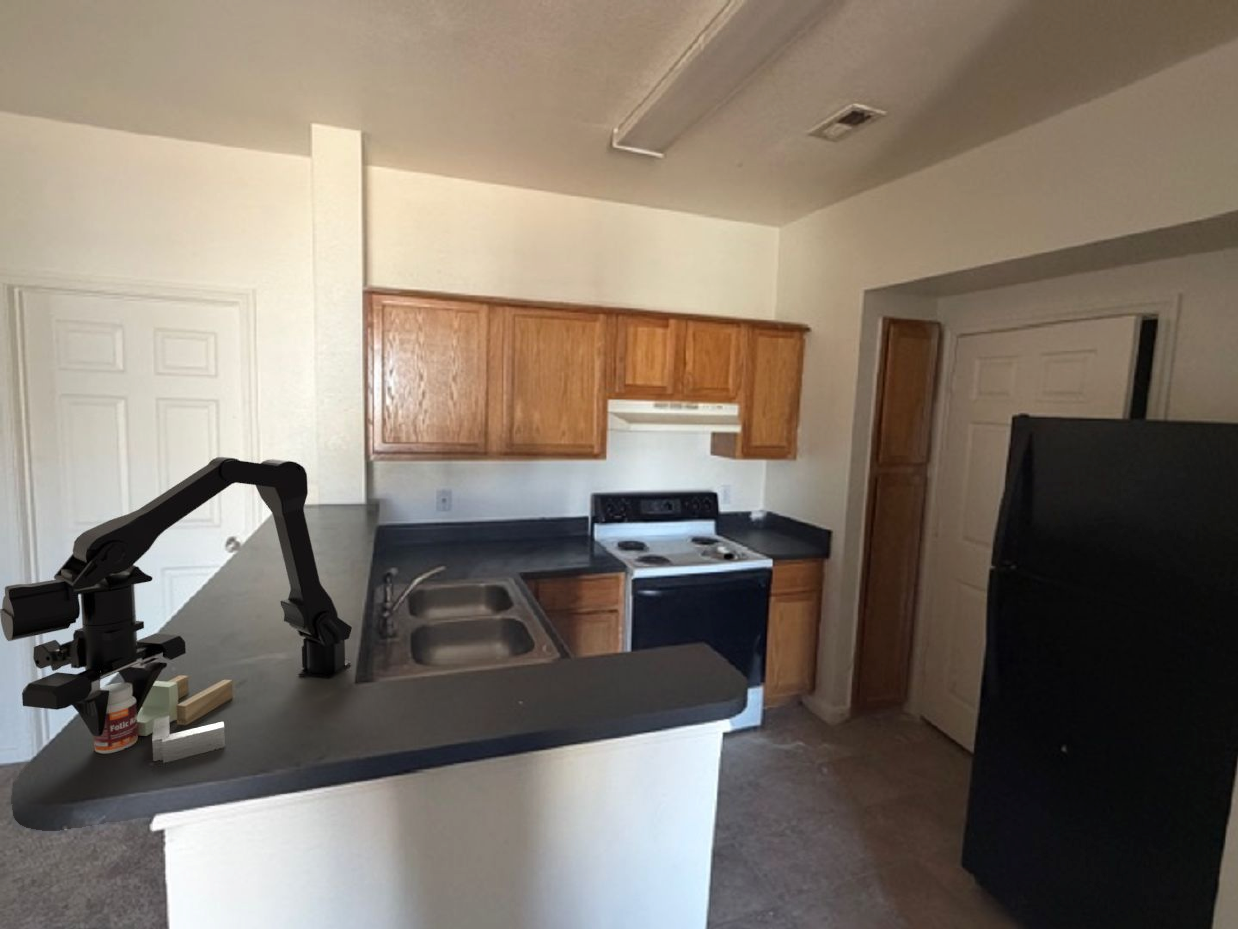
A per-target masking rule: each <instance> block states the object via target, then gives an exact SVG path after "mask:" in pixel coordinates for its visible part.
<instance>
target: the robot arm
mask: <svg viewBox="0 0 1238 929" xmlns="http://www.w3.org/2000/svg"><path fill="white" fill-rule="evenodd" d="M235 483H236V484H245V485H253V486H255V487H256V490H257V492H258V494H259V496H260V498H261V500H262V501H263V502H264V504H265V505H266V507H267V508H268V509H269V510H270V512H271V513H272V517H273V519H274V524H275V528H276V532H277V537H278V541H279V545H280V549H281V554H282V558H283V561H284V566H285V570H286V575H287V578H288V582H289V586H290V591H289V595H288V598H286V599H283V600H280V601H279V603H280V606H281V609H282V610H283V615H284V616H283V622H284V623H287V624H289V626H290V628H293V629H294V630H296V631H297V633H298V635H299V636H300V637H303V639H302V642H303V644H302V646H301V666H302V669H301V670H300V671H298V672H297V673H298V674H297V675H298V676H302V677H314V678H323V679H326V678H327V679H330V678H331V679H332V678H333V677H335V675H337V674H338V673H340V672H341V671H343V670H344V669H346V668H347V667H349V666H350V665H351V661H350V660H346V641H347V640H349V639H350V636H351V633H352V626H351V625H349V623H348V624H347V622H345V621H343V620H342V619H341V618H339V614H338V610H337V608H336V605H335V603H334V601H333V599H332V598H331V596H330V595H329V593H328V592H327V591H326V590H325V588H324V586H323V585H322V583H321V581H320V576H319V572H318V571H319V570H318V566H317V563H316V559H315V554H314V550H313V549H314V548H313V546H312V541H311V537H310V532H309V528H308V523H307V520H306V519H307V518H306V515H305V504H306V501H307V496H308V494H309V492H308V491H309V490H308V487H309V486H308V476H307V471H306V468H305V467H304V466H303V465H301V464H300V463H298V462H296V461H291V460H282V459H273V458H272V459H271V458H270V459H265V460H263V461H262V462H253V461H251V462H250V461H246V460H239V459H238V458H234V457H225V456H218V457H215V458H212V460H210V461H209V462H208V464H206V465H205V466H203V467H202V468H200V469H198V470H197V471H196V472H194V473H192V474H191V475H189V476H188V477H187V478H184V480H182V481H180V482H179V483H177V484H176V485H174V486H172V487H171V488H169V489H168V490H166V491H164V492H163V493H162V494H160V495H159V496H157V497H155V498H154V499H152V500H151V501H150V502H148V503H146V504H144V505H143V506H141V507H140V508H138V509H137V510H134V511H132V512H130V513H128V514H124V515H121V516H118V517H116V518H113V519H110V520H107V521H104V522H103V523H101V524H99V525H96V526H93V527H92V528H89V529H87V530H85V531H84V532H82V533H81V534H79V536H77V537H76V538H75V540H74V542H73V547H72V554H71V555H70V556H69V557H68V559H67V560H66V561H65V562H64V563H63V565H62V566H61V567H60V568H59V569H58V571H56V573H55V574H54V576H53V578H54V579H51V580H46V581H45V580H44V581H37V582H33V583H17V584H11V585H5V587H4V596H3V599H2V603H1V604H2V606H1V607H2V608H0V622H1V627H2V631H3V635H4V637H5V639H6V641H7V642H11V641H17V640H21V639H26V638H29V637H30V638H31V637H34V636H40V635H43V634H47V633H53V632H57V631H58V632H59V631H62V630H67V629H69V628H70V626H71V625H72V624H76V623H77V620H78V619H79V618H80V613H81V622H82V623H81V624H82V625H81V626H82V627H80V628H77V629H75V630H74V632H73V634H72V638H73V639H71V640H70V641H66V642H64V643H61V644H60V642H59V641H58V640H56V639H53V640H49V641H47V642H43V643H41V644H38V645H35V646H33V657H32V658H33V661H34V664H35V666H36V668H38V669H41V670H42V669H45V668H48V667H50V669H51V671H52V672H54V671H57V670H59V669H61V668H62V667H65V666H68V665H70V667H71V669H81V668H84V670H83V671H81V672H78V673H66V672H54V673H51V674H49V675H47V676H43V677H41V678H39V679H37V680H34V681H31V682H29V683H27V685H25V687H24V688H23V689H22V693H21V698H22V706H23V707H28V708H37V709H48V710H62V709H63V710H64V709H66V708H68V707H71V706H72V707H73V708H74V709H75V710H76V712H77V713H78V714H79V716H80V717H81V719H82V721H83V722H84V724H85V726H86V727H87V729H88V730H89V732H90V733H91V735H92V736H93V737H94V736H101V735H102V733H103V729H104V725H105V719H106V712H107V705H108V698H109V690H100V688H101V680H103V679H105V678H107V677H109V676H112V675H114V674H116V673H119V675H120V676H121V678H122V679H123V683H125V682H126V683H131V684H132V690H133V692H132V696H133V697H135V699H136V707H137V708H136V709H137V715H138V713H139V711H140V709H141V707H142V705H143V703H144V701H145V699H146V697H147V695H148V693H149V692H150V690H151V688H152V686H153V684H154V683H155V681H157V679H158V678H159V676H160V674H161V673H162V671H163V670H164V669H165V668H167V666H168V663H167V662H160V661H159V660H160V658H159V655H161V654H162V658H164V659H166V660H168V661H169V660H170V661H171V660H175V659H176V658H178V657H179V658H180V656H183V655H185V654H186V653H187V652H186V650H187V649H186V641H185V640H184V638H182V637H181V635H177V634H165V633H164V634H163V633H153V634H150V635H147V636H146V637H143V638H141V639H138V631H140V630H143V629H145V622H144V621H143V620H137V614H136V594H135V585H139V584H144V583H149V582H151V581H153V576H151V575H149V574H147V573H146V572H143V570H142V569H140V567H139V566H137V565H135V563H137V561H138V562H139V560H140V559H141V558H142V557H143V556H144V555H145V554H146V553H147V552H148V551H150V549H151V547H152V546H153V545H154V543H155V542H156V541H157V539H158V538H159V537H160V535H162V534H163V533H164V532H165V531H166V530H168V529H169V528H171V527H172V526H173V525H175V524H176V523H177V522H179V521H181V520H183V519H184V518H185V517H187V516H188V515H189V514H190V513H192V512H193V511H195V510H197V509H198V508H200V507H201V506H202V505H204V504H205V503H207V502H208V501H210V500H211V499H213V498H214V497H216V496H217V495H218V494H219V493H221V492H223V491H224V490H226V489H227V488H229V487H230V486H232V485H233V484H235ZM79 595H80V597H79ZM79 598H80V599H79Z"/></svg>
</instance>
